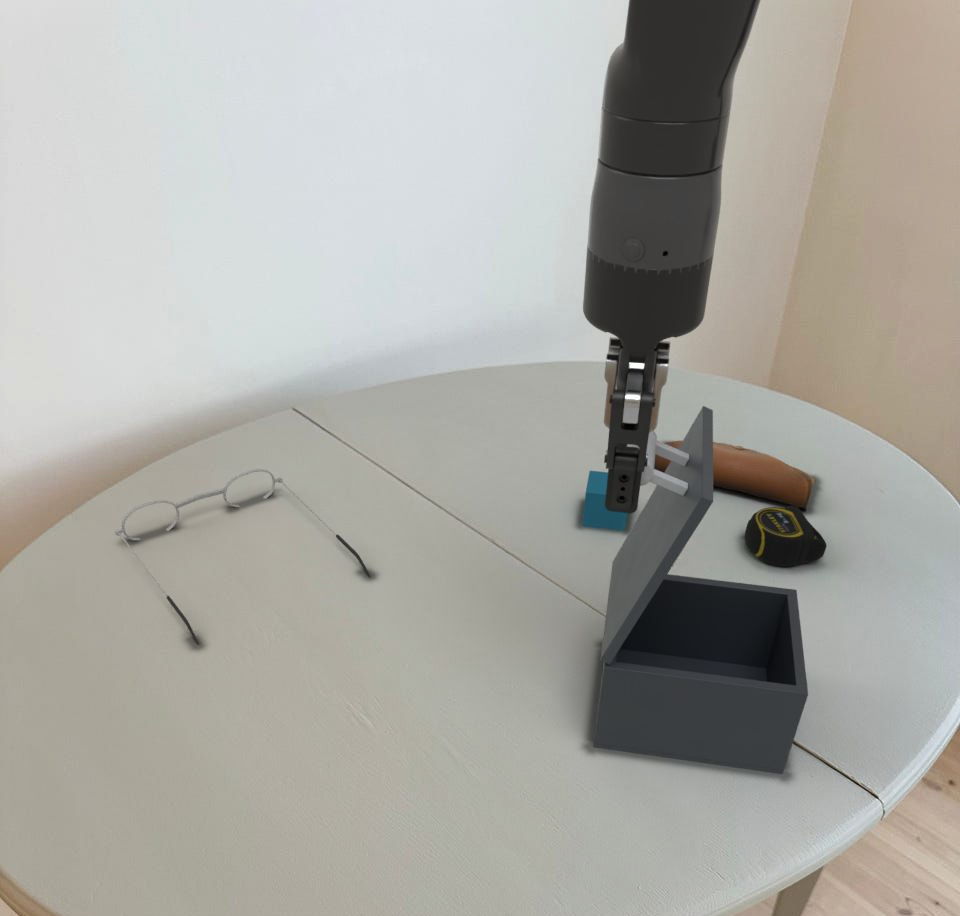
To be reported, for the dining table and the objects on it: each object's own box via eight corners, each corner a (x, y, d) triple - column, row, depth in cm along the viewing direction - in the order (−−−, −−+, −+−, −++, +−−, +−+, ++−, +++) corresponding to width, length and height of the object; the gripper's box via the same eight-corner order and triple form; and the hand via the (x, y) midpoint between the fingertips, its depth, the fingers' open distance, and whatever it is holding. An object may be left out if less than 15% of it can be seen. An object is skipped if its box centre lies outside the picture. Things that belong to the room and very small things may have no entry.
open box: (773, 670, 86) (796, 589, 80) (781, 777, 76) (808, 694, 71) (605, 648, 87) (616, 567, 82) (592, 750, 78) (604, 667, 72)
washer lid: (713, 409, 72) (646, 381, 71) (713, 501, 62) (637, 468, 62) (621, 565, 82) (562, 540, 81) (609, 664, 72) (543, 637, 72)
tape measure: (823, 570, 97) (832, 538, 95) (757, 576, 96) (765, 544, 94) (793, 531, 102) (802, 500, 100) (731, 537, 101) (738, 505, 99)
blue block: (627, 511, 105) (632, 474, 102) (624, 533, 101) (629, 497, 99) (585, 506, 105) (589, 470, 102) (581, 528, 102) (585, 492, 99)
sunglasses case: (819, 475, 110) (826, 443, 104) (802, 530, 108) (809, 500, 102) (662, 440, 115) (661, 408, 109) (643, 491, 114) (641, 461, 107)
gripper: (715, 290, 53) (674, 551, 64) (714, 208, 64) (679, 443, 75) (575, 280, 54) (559, 539, 65) (597, 202, 65) (580, 435, 76)
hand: (623, 487), depth 70 cm, fingers closed on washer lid, 5 cm apart
